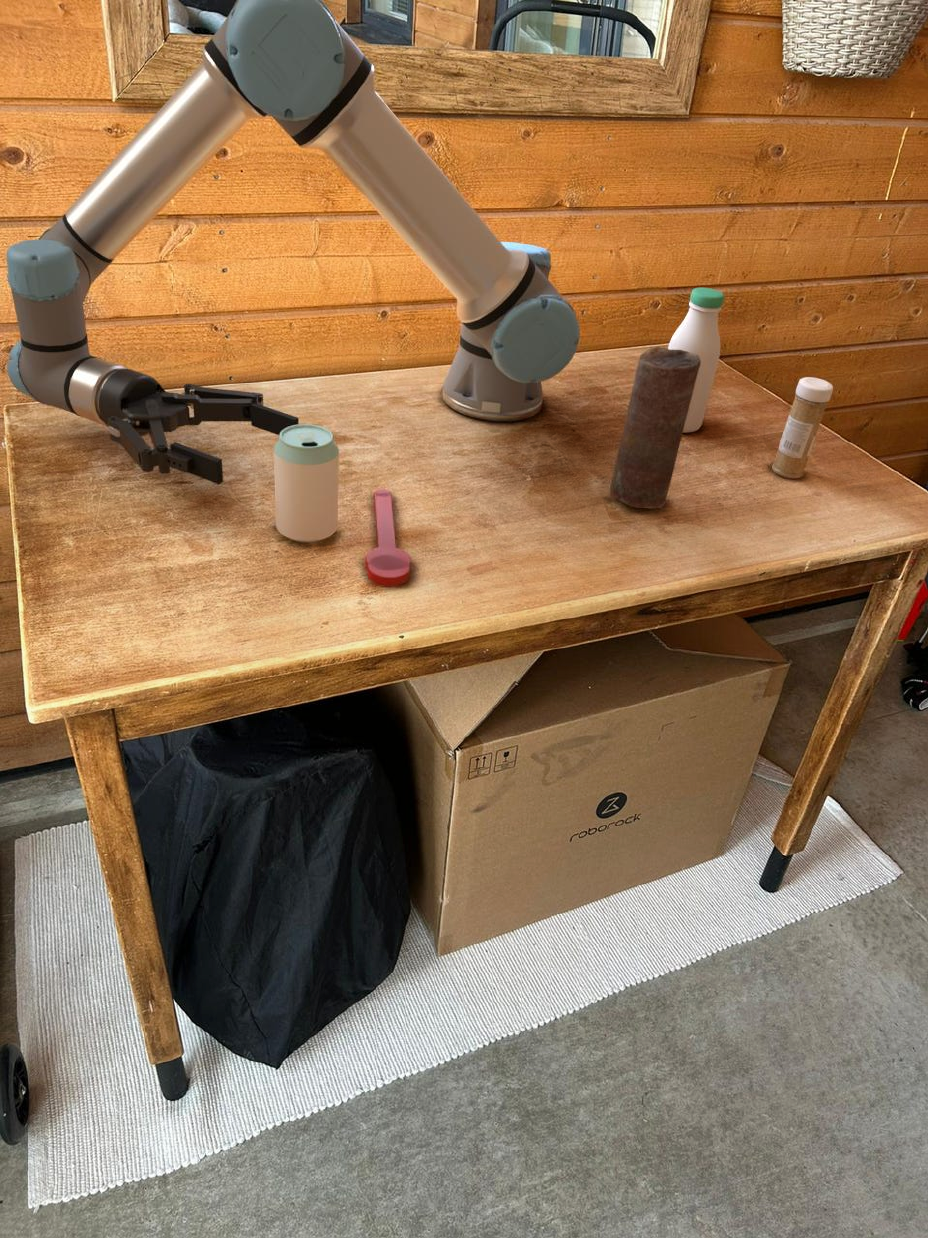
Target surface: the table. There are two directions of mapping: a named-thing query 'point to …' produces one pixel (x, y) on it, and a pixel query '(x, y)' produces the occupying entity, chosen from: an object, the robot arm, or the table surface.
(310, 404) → the table surface
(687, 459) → the table surface
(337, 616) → the table surface
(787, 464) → the spice jar
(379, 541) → the spoon
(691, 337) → the milk bottle
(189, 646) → the table surface
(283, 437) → the can
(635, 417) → the candle
